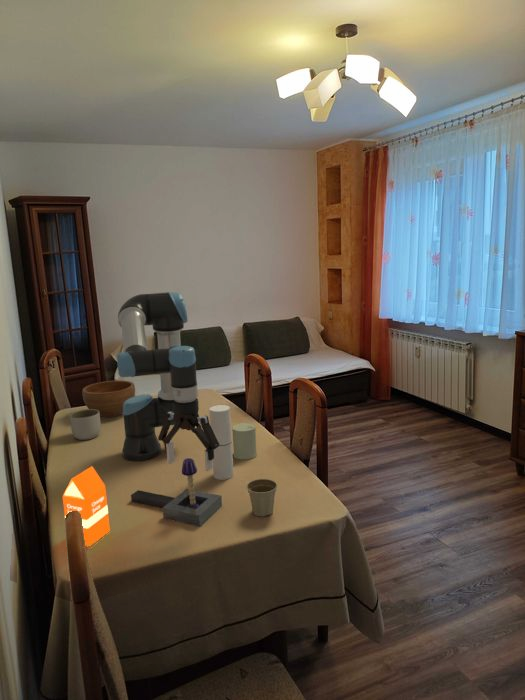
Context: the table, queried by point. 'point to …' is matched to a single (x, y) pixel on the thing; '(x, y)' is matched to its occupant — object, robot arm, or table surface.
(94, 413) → the planter
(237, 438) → the can
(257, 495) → the flower pot
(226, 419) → the cylindrical container
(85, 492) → the orange juice
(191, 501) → the toy lamp
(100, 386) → the bowl
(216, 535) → the table surface
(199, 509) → the block
